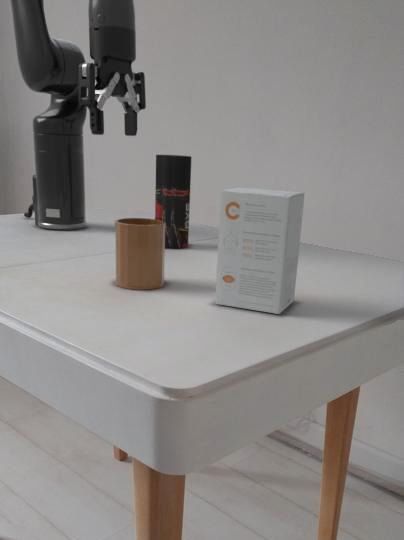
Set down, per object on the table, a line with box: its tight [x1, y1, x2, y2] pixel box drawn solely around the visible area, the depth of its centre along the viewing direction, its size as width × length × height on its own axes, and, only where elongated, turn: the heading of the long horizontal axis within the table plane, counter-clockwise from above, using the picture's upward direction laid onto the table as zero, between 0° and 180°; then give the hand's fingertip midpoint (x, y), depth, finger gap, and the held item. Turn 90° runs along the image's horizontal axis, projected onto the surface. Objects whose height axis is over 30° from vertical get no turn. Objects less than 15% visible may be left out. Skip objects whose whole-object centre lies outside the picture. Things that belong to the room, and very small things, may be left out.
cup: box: [114, 217, 166, 291], centre depth 72 cm, size 6×6×8 cm
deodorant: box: [154, 154, 192, 250], centre depth 97 cm, size 6×6×15 cm
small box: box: [214, 187, 305, 315], centre depth 65 cm, size 8×6×13 cm
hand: (114, 135), depth 97 cm, fingers open, 8 cm apart
